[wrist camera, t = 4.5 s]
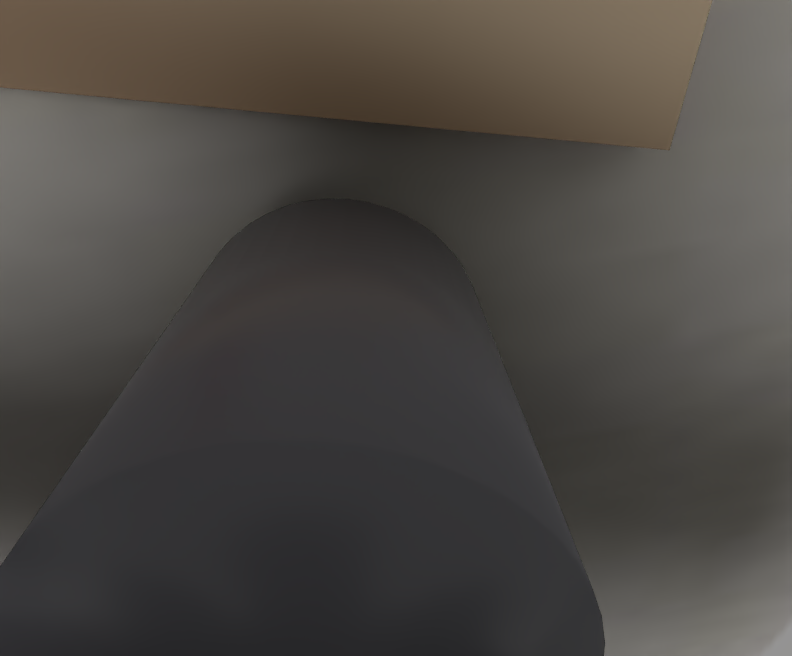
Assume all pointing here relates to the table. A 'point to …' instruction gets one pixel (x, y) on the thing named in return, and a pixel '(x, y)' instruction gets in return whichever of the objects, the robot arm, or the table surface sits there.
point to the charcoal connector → (309, 472)
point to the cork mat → (376, 60)
